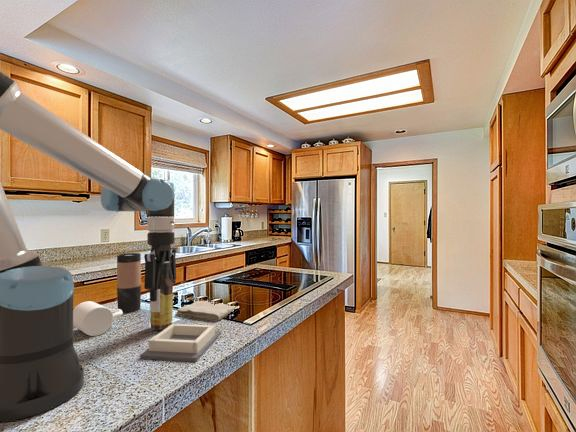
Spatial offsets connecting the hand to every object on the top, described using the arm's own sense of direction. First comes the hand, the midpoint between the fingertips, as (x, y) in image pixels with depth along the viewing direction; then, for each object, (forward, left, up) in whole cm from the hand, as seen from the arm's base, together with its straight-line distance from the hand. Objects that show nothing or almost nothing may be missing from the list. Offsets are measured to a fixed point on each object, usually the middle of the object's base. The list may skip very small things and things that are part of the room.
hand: (161, 308), depth 90 cm
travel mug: (+15, +21, -6) cm, 27 cm away
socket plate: (-11, -12, -6) cm, 18 cm away
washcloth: (+15, -8, -7) cm, 18 cm away
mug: (-3, +18, -6) cm, 19 cm away
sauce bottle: (0, 0, -6) cm, 6 cm away
